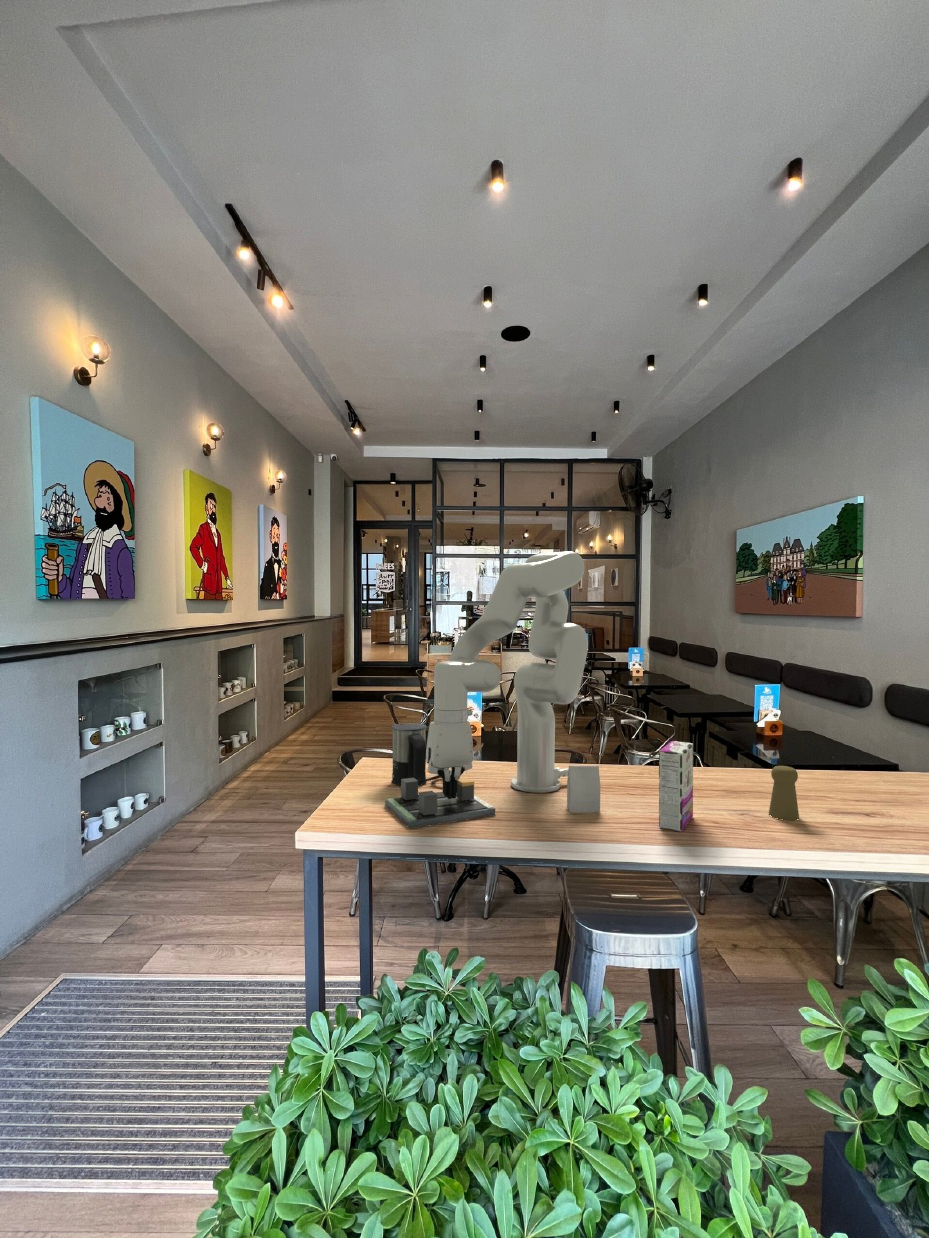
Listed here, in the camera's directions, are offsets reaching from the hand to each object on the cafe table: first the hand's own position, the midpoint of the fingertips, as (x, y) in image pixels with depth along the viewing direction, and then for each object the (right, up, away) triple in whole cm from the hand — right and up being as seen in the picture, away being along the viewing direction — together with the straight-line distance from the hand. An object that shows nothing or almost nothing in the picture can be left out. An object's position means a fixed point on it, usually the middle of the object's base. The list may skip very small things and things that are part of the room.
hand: (449, 796), depth 137 cm
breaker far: (-9, -1, +2) cm, 9 cm away
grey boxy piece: (+30, -3, 0) cm, 30 cm away
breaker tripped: (+3, -1, +2) cm, 4 cm away
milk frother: (-7, -3, +21) cm, 22 cm away
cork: (+74, -4, -3) cm, 74 cm away
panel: (-2, -3, -1) cm, 4 cm away
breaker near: (-4, -1, -8) cm, 9 cm away
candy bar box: (+49, -4, -8) cm, 49 cm away
